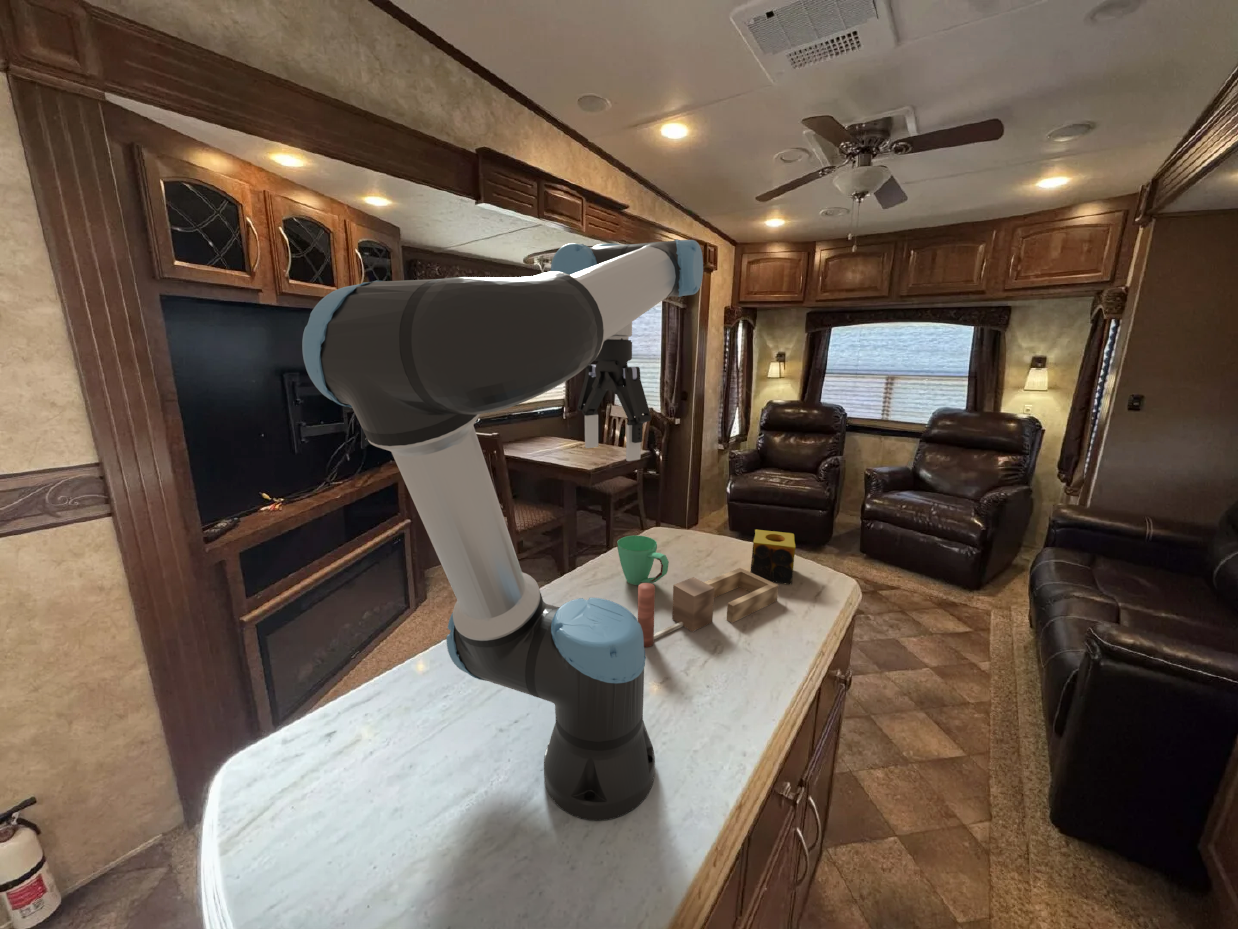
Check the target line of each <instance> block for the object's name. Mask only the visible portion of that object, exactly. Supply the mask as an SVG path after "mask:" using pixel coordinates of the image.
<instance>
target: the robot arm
mask: <svg viewBox="0 0 1238 929" xmlns="http://www.w3.org/2000/svg"><path fill="white" fill-rule="evenodd" d="M703 276H704V258H703V251H702V248H701V246H700V244H699V242H697V241H696V240H695V239H677V238H676V239H674V240H668V241H666V240H665V241H657V242H656V241H654V242H645V243H643V242H642V243H635V244H632V243H630V244H620V243H599V244H596V245H594V246H592V247H591V246H588V245H586V244H584V243H574V242H571V243H567V244H564V245H562V246H561V247H560V248H559V249H558V250H557V251H555V254H554V256H553V257H552V259H551V264H550V271H547V272H542V273H539V274H536V275H533V276H532V275H531V276H521V277H520V276H519V277H517V276H515V277H494V276H493V277H490V276H489V277H488V276H487V277H486V276H485V277H479V276H478V277H477V276H474V277H473V276H472V277H471V276H469V277H468V276H459V277H458V276H457V277H446V278H435V279H434V278H432V279H430V278H429V279H415V280H414V279H409V280H387V281H384V280H374V281H369V282H361V283H359V284H353V285H348V286H344V287H340V288H337V289H335V290H333V291H331V292H329V293H328V294H327V295H325V296H324V297H323V298H321V299H320V300H319V302H317V304H316V305H315V306H314V308H312V311H311V312H310V314H309V318H308V322H307V324H306V326H305V327H304V331H303V334H302V340H301V341H302V344H301V345H302V349H301V350H302V357H303V358H302V359H303V363H304V366H305V369H306V372H307V374H308V377H309V379H310V380H311V382H312V383H313V385H314V386H315V388H316V389H317V390H318V391H319V392H320V393H321V394H322V395H323V396H324V397H326V398H327V399H329V400H330V401H333V402H334V403H336V404H337V405H340V406H343V407H345V408H350V409H351V408H352V409H353V412H354V414H355V416H356V418H357V421H358V423H359V424H360V426H361V428H362V430H363V433H364V434H365V435H364V436H365V438H366V440H367V441H368V442H369V444H370V445H372V446H374V447H376V448H379V449H382V450H386V451H389V452H391V455H392V457H393V459H394V461H395V463H396V465H397V467H398V470H399V472H400V474H401V477H402V479H403V481H404V484H405V485H406V488H407V490H408V493H409V494H410V497H411V499H412V501H413V504H414V507H415V508H416V510H417V512H418V515H419V517H420V519H421V522H422V524H423V526H424V529H425V530H426V533H427V535H428V537H429V540H430V542H431V544H432V547H433V548H434V551H435V553H436V556H437V558H438V560H439V562H440V564H441V567H442V568H443V572H444V573H445V575H446V578H447V581H448V583H449V585H450V586H451V590H452V591H453V593H454V596H455V598H456V602H455V603H454V607H453V610H452V613H451V615H450V617H449V619H448V622H447V623H448V624H447V629H448V630H449V634H447V635H446V641H445V642H446V649H447V652H448V655H449V657H450V659H451V662H453V664H454V665H455V666H456V668H458V669H459V670H461V671H462V672H464V673H466V674H468V675H469V676H471V677H472V678H474V679H477V680H480V681H485V682H490V683H493V684H496V685H499V686H502V687H505V688H508V689H512V690H515V691H517V692H520V693H523V694H526V695H529V696H532V697H535V698H538V699H542V700H544V701H547V702H550V703H552V704H554V711H555V712H554V713H555V724H554V725H553V730H552V731H551V732H552V733H551V736H550V738H549V741H548V744H547V746H546V749H545V752H544V757H543V758H544V759H543V778H544V785H545V788H546V791H547V793H548V795H549V796H550V798H551V800H552V801H553V802H554V803H555V804H556V805H557V806H558V807H559V808H560V809H561V810H563V811H564V812H566V813H568V814H569V815H571V816H573V817H577V818H580V819H584V820H589V821H605V820H611V819H616V818H619V817H622V816H624V815H626V814H628V813H629V812H632V811H634V810H635V809H636V808H637V807H638V806H640V805H641V803H642V802H643V801H644V800H645V799H646V798H647V796H648V795H649V793H651V792H650V791H651V789H652V787H653V785H654V784H653V783H654V780H655V774H656V773H655V769H656V764H655V763H656V756H655V751H654V747H653V744H652V741H651V739H650V736H649V733H648V730H647V728H646V724H645V722H644V715H643V714H644V691H645V690H644V685H645V667H646V659H647V657H646V650H645V647H644V638H643V631H642V628H641V625H640V624H639V622H638V617H636V616H635V615H634V613H632V612H631V611H630V610H629V609H628V608H626V607H625V606H623V605H621V604H619V603H617V602H614V601H612V600H610V599H609V600H608V599H606V598H605V599H604V598H599V597H589V598H588V599H584V598H583V597H580V598H575V599H572V600H569V601H567V602H565V603H563V604H562V605H561V606H560V607H559V606H555V605H553V604H547V603H546V602H545V601H544V599H543V596H542V593H541V589H540V587H539V584H538V582H537V581H536V580H535V578H533V577H532V576H531V575H530V574H528V573H526V572H523V571H522V568H521V566H520V562H519V560H518V557H517V553H516V551H515V550H516V549H515V548H514V545H513V541H512V537H511V535H510V532H509V529H508V527H507V523H506V520H505V516H504V514H503V511H502V508H501V505H500V502H499V498H498V495H497V493H496V490H495V487H494V483H493V481H492V478H491V474H490V471H489V469H488V465H487V463H486V459H485V456H484V454H483V451H482V447H481V444H480V442H479V438H478V435H477V433H476V432H477V431H476V429H475V426H474V425H475V423H476V422H477V420H478V418H479V417H480V416H481V415H482V414H488V413H495V412H499V411H504V410H506V409H509V408H513V407H515V406H517V405H520V404H522V403H526V402H527V401H529V400H532V399H534V398H536V397H539V396H541V395H544V394H545V393H547V392H550V391H551V390H553V389H555V388H557V387H558V386H560V385H562V384H563V383H565V382H567V381H569V380H570V379H571V378H573V377H575V376H576V375H578V374H580V372H583V370H584V369H585V374H584V375H585V376H584V381H583V384H582V386H581V391H580V395H579V400H578V403H577V405H576V406H577V407H576V408H577V410H578V411H579V412H580V411H581V413H582V415H583V416H584V417H583V418H584V419H583V424H584V426H583V427H584V448H585V449H593V448H598V447H599V412H598V409H599V407H600V406H601V403H602V401H603V399H604V397H605V395H606V393H607V392H608V391H610V392H612V393H613V394H615V395H616V396H617V398H618V400H619V403H620V405H621V407H622V409H623V412H624V414H625V415H626V418H627V420H628V422H627V423H626V429H625V430H626V431H625V433H626V438H625V439H626V440H625V441H626V442H625V443H626V444H625V460H626V461H627V462H632V461H638V460H641V456H642V455H641V453H642V452H641V449H642V448H641V446H642V442H643V425H644V424H645V423H647V422H651V421H652V414H651V412H650V408H649V405H648V401H647V398H646V394H645V390H644V387H643V383H642V379H641V368H640V367H639V366H628V362H629V361H631V360H632V358H633V341H632V340H631V339H630V340H629V337H632V336H633V322H634V321H635V320H637V319H638V318H639V317H641V316H642V315H644V314H645V313H647V312H648V311H649V310H651V309H652V308H654V307H656V306H657V305H658V304H660V303H661V302H663V300H665V299H667V298H670V297H678V298H681V297H683V296H685V297H686V296H693V295H695V294H697V293H698V292H699V290H700V288H701V285H702V282H703ZM594 361H595V362H596V364H592V363H593V362H594Z"/></svg>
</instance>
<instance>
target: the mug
mask: <svg viewBox="0 0 1238 929" xmlns="http://www.w3.org/2000/svg"><path fill="white" fill-rule="evenodd" d="M616 547H617V553H618V557H619V562H620V563H619V564H620V566H621V568H622V569H621V570H622V573H623V575H624V577H625V580H626V582H627V583H628V584H630V585H634V586H639V585H640V584H641V583H651V584H653V583H657V582H658V581H659V580H660V579H662V578H664V576H666V575H667V573H668V571H669V570H668V569H669V564H670V561H669V559H668V557H667V555H666V554H663V553H661V552H657V549H658V542H657V541H656V540H655V539H654V538H652V537H649V536H646V535H636V534H635V535H627V536H624V537H621V538H619V539H618V540H617V542H616ZM654 560H658V561H659V562H660V572H659V573H658V574H657V575H656V576H654V577H649V576H650V575H651V574H650V573H651V571H652V568H653V565H654Z"/></svg>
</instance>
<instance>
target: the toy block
mask: <svg viewBox="0 0 1238 929" xmlns="http://www.w3.org/2000/svg"><path fill="white" fill-rule="evenodd" d="M754 533H755V534H754V537H753V541H752V550H751V551H752V553H751V561H750V562H751V564H750V572H751V573H753V574H755V575H757V576H760V577H762V578H764V579H766V580H768V581H771V582H773V583H775V584H778V583H779V584H784V583H786V585H792V584H793V577H794V576H793V575H794V564H795V554H796V553H795V552H796V547H797V546H796V541H795V534H794V533H792V532H782V531H775V530H773V531H771V530H766V529H765V530H763V529H754Z"/></svg>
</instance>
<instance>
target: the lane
mask: <svg viewBox="0 0 1238 929" xmlns="http://www.w3.org/2000/svg"><path fill="white" fill-rule="evenodd" d="M703 582H704V583H706V584H708V585H710V586H712V587H714V599H715V598H717V597H719V596H722V595H723V594H726V593H728V592H731V591H733V590H736V589H738V588H742V589H744V590H746V591H749V593H747V594H744V595H743V596H740V597H737V598H735V599H733V600H732V601H729V602H727V605H726V606H727V608H726V621H728V622H730V623H731V624H734V623H735V622H737V621H740V620H742V619H743V618H746V617H747V616H750V615H751V614H753V613H756V612H757V611H759V610H762V609H764V608H766V607H768V606H770V605H772V604H774V603H776V602H778V595H779V584H778V583H776V582H771V581H768V580H766V579H764V578H762V577H760V576H757V575H755V574H753V573H751V571H749V570H746V569H744V568H742V567H739V568H736V569H733V570H730V571H729V572H725V573H723V574H720V575H718V576H715V577H714V578H711V579H709V580H706V581H703Z"/></svg>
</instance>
